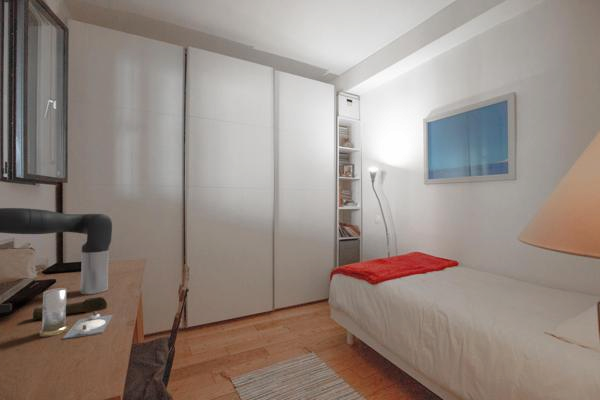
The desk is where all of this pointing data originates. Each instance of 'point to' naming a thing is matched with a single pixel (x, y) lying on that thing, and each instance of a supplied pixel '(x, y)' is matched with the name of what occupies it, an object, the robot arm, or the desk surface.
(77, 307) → the hand tool
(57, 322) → the clear glass cylinder
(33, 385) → the desk surface
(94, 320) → the board
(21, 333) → the desk surface
